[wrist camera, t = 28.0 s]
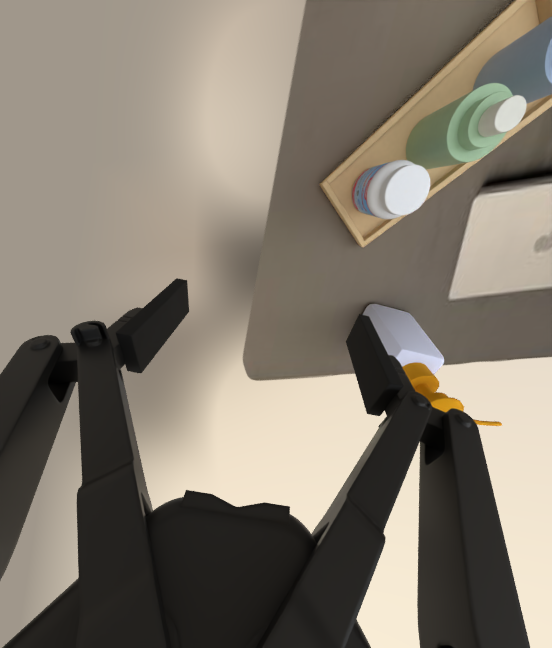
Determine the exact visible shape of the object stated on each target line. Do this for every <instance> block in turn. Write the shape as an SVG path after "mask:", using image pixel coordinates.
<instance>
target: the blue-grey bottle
mask: <svg viewBox="0 0 552 648" xmlns="http://www.w3.org/2000/svg"><path fill="white" fill-rule="evenodd" d="M489 83H500V84H503V85H505V86H506V87H508V88H509V90H510V91H511V93H512V95H513V96H515V95H520V96H523V97H524V98H525V100H526V104H527V103H530V102H533V101H535V100H538V99H541V98H543V97H546V96H549V95H551V94H552V16H551V17H550V18H548V19H547V20H545V21H544V22H542V23H541V24H539V25H538V26H536V27H535V28H533V29H532V30H530V31H529V32H527V33H526V34H524V35H523V36H521V37H520V38H518V39H517V40H515V41H514V42H512V43H511V44H509V45H508V46H506V47H505V48H503V49H502V50H500V51H499V52H497V53H496V54H495V55H494V56H492V57H491V58H490V59H489V60H488V61H487V63H486V64H485V65H484V66H483V68H482V69H481V71H480V73H479V74H478V76H477V79H476V81H475V84H474V87H473V90H475V89H477V88H479V87H481V86H483V85H485V84H489Z"/></svg>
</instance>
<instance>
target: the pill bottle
mask: <svg viewBox="0 0 552 648" xmlns="http://www.w3.org/2000/svg"><path fill="white" fill-rule="evenodd" d="M429 189H430V177H429V174H428V172H427V171H426V169H425V168H423V167H422V166H420V165H415V164H414V163H412V162H410V161H407V160H396V161H392V162H389V163H385V164H382V165H378V166H375V167H371V168H369V169H367V170H365V171H364V172H362V173H361V174H360V175H359V177H358V178H357V179H356V181H355V183H354V185H353V188H352V202H353V205H354V207H355V208H356V209H357V210H358V211H359V212H361V213H364V214H367V215H371V216H374V217H378V218H381V219H394V218H397V217H400V216H402V215H407V214H410V213H412V212H414V211H415V210H417V209H418V208H419V207H420V206H421V205H422V204H423V202H424V201H425V199H426V197H427V195H428V193H429Z"/></svg>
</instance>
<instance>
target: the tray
mask: <svg viewBox="0 0 552 648" xmlns="http://www.w3.org/2000/svg"><path fill="white" fill-rule="evenodd" d="M551 16H552V0H514V1H513V2H512V3H511V4H510V5H509V6H508V7H507V8H506V9H505V10H504V11H502V12H501V13H500V14H499V15H498V16H497V17H496V18H495V19H494V20H493V21H492V22H491V23H490V24H489V25H488V26H487V27H486V28H484V29H483V30H482V31H481V32H480V33H479V34H478V35H477V36H476V37H475V38H474V39H473V40H472V41H471V42H470V43H469V44H467V45H466V46H465V47H464V48H463V49H462V50H461V51H460V52H459V53H458V54H457V55H456V56H455V57H454V58H453V59H452V60H451V61H449V62H448V63H447V64H446V65H445V66H444V67H443V68H442V69H441V70H440V71H439V72H438V73H437V74H436V75H435V76H434V77H433V78H431V79H430V80H429V81H428V82H427V83H426V84H425V85H424V86H423V87H422V88H421V89H420V90H419V91H418V92H417V93H416V94H415V95H413V96H412V97H411V98H410V99H409V100H408V101H407V102H406V103H405V104H404V105H403V106H402V107H401V108H400V109H399V110H398V111H396V112H395V113H394V114H393V115H392V116H391V117H390V118H389V119H388V120H387V121H386V122H385V123H384V124H383V125H382V126H381V127H380V128H378V129H377V130H376V131H375V132H374V133H373V134H372V135H371V136H370V137H369V138H368V139H367V140H366V141H365V142H364V143H363V144H362V145H360V146H359V147H358V148H357V149H356V150H355V151H354V152H353V153H352V154H351V155H350V156H349V157H348V158H347V159H346V160H345V161H344V162H342V163H341V164H340V165H339V166H338V167H337V168H336V169H335V170H334V171H333V172H332V173H331V174H330V175H329V176H328V177H327V178H325V179H324V180H323V181H322V182H321V183H320V184H319V185H320V187H321V188H322V190H323V191H324V193H325V194H326V196H327V197H328V199H329V200H330V202H331V203H332V205H333V206H334V208H335V210H336V211H337V213H338V214H339V216H340V217H341V219H342V220H343V222H344V223H345V225H346V226H347V228H348V229H349V231H350V233H351V234H352V236H353V237H354V239H355V240H356V242H357V243H358V245H359V246H361V247H362V248H363V247H364V246H366V245H367V244H369V243H370V242H371V241H373V240H374V239H375V238H377V237H378V236H379V235H381V234H382V233H383V232H385V231H386V230H387V229H389V228H390V227H391V226H393V225H394V224H395V223H397V222H398V221H399V220H401V219H402V218H403V217H405V216H406V215H402V216H400V217H397V218H394V219H381V218H378V217H374V216H371V215H367V214H364V213H361V212H359V211H358V210H357V209H356V208H355V207H354V205H353V202H352V188H353V185H354V183H355V181H356V179H357V178H358V177H359V175H360V174H361V173H362V172H364V171H365V170H367V169H369V168H371V167H375V166H378V165H382V164H385V163H389V162H392V161H396V160H407V158H406V144H407V140H408V138H409V135H410V133H411V131H412V130H413V128H414V127H415V126H416V125H417V123H418V122H419V121H421V120H422V119H423V118H425V117H426V116H428V115H430V114H432V113H433V112H435V111H437V110H439V109H441V108H442V107H444V106H446V105H448V104H450V103H451V102H453V101H455V100H457V99H459V98H460V97H462V96H464V95H466V94H468V93H469V92H471V91H473V87H474V84H475V81H476V79H477V76H478V74H479V73H480V71H481V69H482V68H483V66H484V65H485V64H486V63H487V61H488V60H489V59H490V58H491V57H492V56H494V55H495V54H496V53H497V52H499V51H500V50H502V49H503V48H505V47H506V46H508V45H509V44H511V43H512V42H514V41H515V40H517V39H518V38H520V37H521V36H523V35H524V34H526V33H527V32H529V31H530V30H532V29H533V28H535V27H536V26H538V25H539V24H541V23H542V22H544V21H545V20H547V19H548V18H550V17H551ZM551 106H552V94H551V95H549V96H546V97H543V98H541V99H538V100H535V101H533V102H530V103H527V105H526V111H525V114H524V116H523V118H522V119H521V121H520V122H519V123H518V124H517V125H516V126H515V127H514V128H513V129H511V130H510V131H507V132H506V134H505V136H504V137H503V139H502V140H501V141H500V143H499V144H498V145H497V146H496V147H498V146H499V145H500V144H502V143H503V142H504V141H506V140H507V139H508V138H510V137H511V136H512V135H514V134H515V133H516V132H518V131H519V130H520V129H522V128H523V127H524V126H526V125H527V124H528V123H529V122H531V121H532V120H533V119H535V118H536V117H537V116H539V115H540V114H541V113H543V112H544V111H545V110H547V109H548V108H549V107H551ZM496 147H495V148H496ZM495 148H494V149H495ZM494 149H493V150H494ZM489 153H490V152H489ZM485 156H486V155H485ZM482 158H483V157H482ZM482 158H480V159H482ZM480 159H478V160H475V161H472V162H467V163H461V164H456V165H450V166H444V167H439V168H433V169H427V170H426V171H427V172H428V174H429V177H430V189H429V193H428V195H427V197H426V199H425V201H426V200H427V199H428V198H430V197H431V196H432V195H434V194H435V193H436V192H438V191H439V190H440V189H442V188H443V187H444V186H446V185H447V184H448V183H450V182H451V181H452V180H454V179H455V178H456V177H458V176H459V175H460V174H462V173H463V172H464V171H466V170H467V169H468V168H470V167H471V166H472V165H474V164H475V163H476V162H478V161H479V160H480Z"/></svg>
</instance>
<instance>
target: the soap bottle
mask: <svg viewBox="0 0 552 648" xmlns="http://www.w3.org/2000/svg"><path fill="white" fill-rule="evenodd" d="M363 315H365V316H369V317H370V319H371V321H372V323H373V325H374V327H375V329H376V331H377V333H378V335H379V337H380V339H381V341H382V343H383V345H384V347H385V349H386V351H387V353H388V355H393V356H394V357H395V358H396V359H397V360H398V361H399V362H400V364H401V365H402V367H403V369H404V371H405V373H406V375H407V376H408V378H409V380H410V382H411V384H412V386H413V388H414V389H415V391H416V392H418V393H420V394H422V395H423V396H425V397H426V398H427V399H428V400H429V401H430V403H431V405H432V407H434V408H437V409H439V410H441V411H443V412H447V411H448V410H450V409H451V408H455V409H458V410H461V411H463V410H464V406H463V405H462V403H461V402H460V401H459V400H457V399H455V398H448V396H446V395H445V394H443V393H437V392H436V391H437V389H438V387H439V381H438V380H437V378H436V377H435V376H434V374H435V373H436V371H437V370H438V369H439V368H440V367H441V366H442V365H443V363H444V357H443V356H442V354H441V353H440V352H439V350H438V349H437V348H436V346H435V345H434V344H433V343H432V341H431V340H430V339H429V337H428V336H427V335H426V333H425V332H424V331H423V329H422V328H421V327H420V326H419V324H418V323H417V322H416V320H415V319H414V318H413V316H412V315H411V314H409V313H408V312H405V311H401V310H397V309H393V308H390V307H386V306H382V305H378V304H369V305H368V306H367V307H366V309H365V311H364V313H363ZM434 392H435V393H434ZM474 421H475V423H476V424H479V425H490V426H501V425H502V424H501V423H500V422H489V421H479V420H474Z"/></svg>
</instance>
